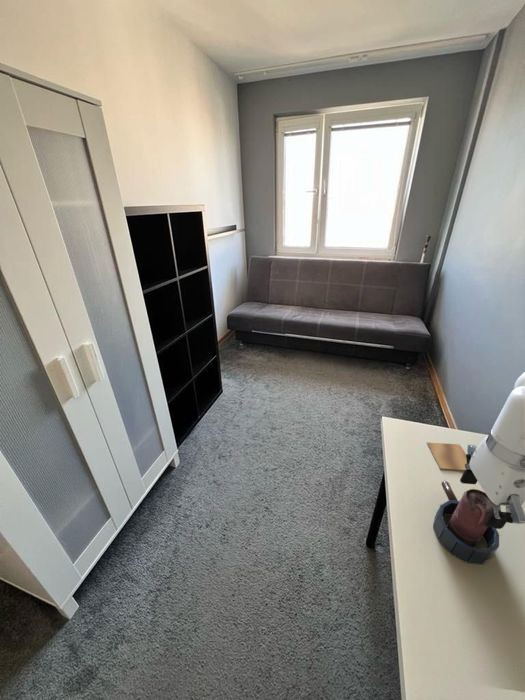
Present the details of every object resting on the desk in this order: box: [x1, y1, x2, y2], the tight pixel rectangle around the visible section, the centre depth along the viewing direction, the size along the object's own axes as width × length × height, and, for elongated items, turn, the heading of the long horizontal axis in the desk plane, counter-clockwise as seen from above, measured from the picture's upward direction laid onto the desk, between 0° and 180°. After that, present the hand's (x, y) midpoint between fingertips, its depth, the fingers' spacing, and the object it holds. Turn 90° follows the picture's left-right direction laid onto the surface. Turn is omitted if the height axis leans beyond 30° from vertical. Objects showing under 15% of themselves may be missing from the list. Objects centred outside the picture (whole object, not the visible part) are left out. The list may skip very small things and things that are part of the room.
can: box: [446, 488, 494, 548], centre depth 63 cm, size 6×6×14 cm
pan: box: [432, 480, 500, 565], centre depth 68 cm, size 12×18×5 cm, turn 173°
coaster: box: [426, 441, 467, 472], centre depth 87 cm, size 10×10×1 cm
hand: (479, 502), depth 60 cm, fingers open, 9 cm apart
